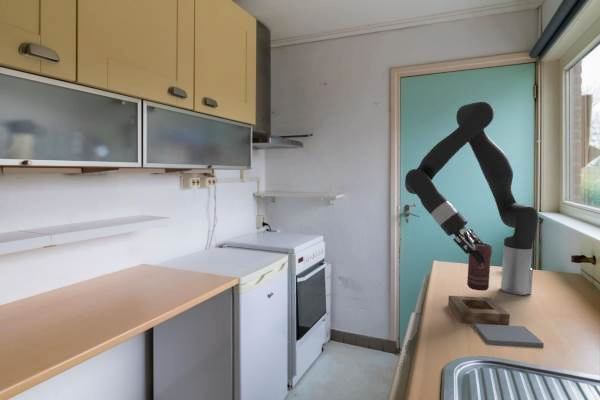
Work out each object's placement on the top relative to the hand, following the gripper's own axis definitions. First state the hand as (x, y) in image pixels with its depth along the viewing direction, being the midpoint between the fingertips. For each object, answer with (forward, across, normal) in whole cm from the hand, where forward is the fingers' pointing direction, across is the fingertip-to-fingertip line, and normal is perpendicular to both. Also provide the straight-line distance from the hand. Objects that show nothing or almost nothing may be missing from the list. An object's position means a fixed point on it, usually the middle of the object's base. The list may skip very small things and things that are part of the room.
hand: (485, 259), depth 112 cm
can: (+6, 0, +8) cm, 10 cm away
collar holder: (+12, 0, +14) cm, 18 cm away
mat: (+19, -10, +7) cm, 23 cm away
